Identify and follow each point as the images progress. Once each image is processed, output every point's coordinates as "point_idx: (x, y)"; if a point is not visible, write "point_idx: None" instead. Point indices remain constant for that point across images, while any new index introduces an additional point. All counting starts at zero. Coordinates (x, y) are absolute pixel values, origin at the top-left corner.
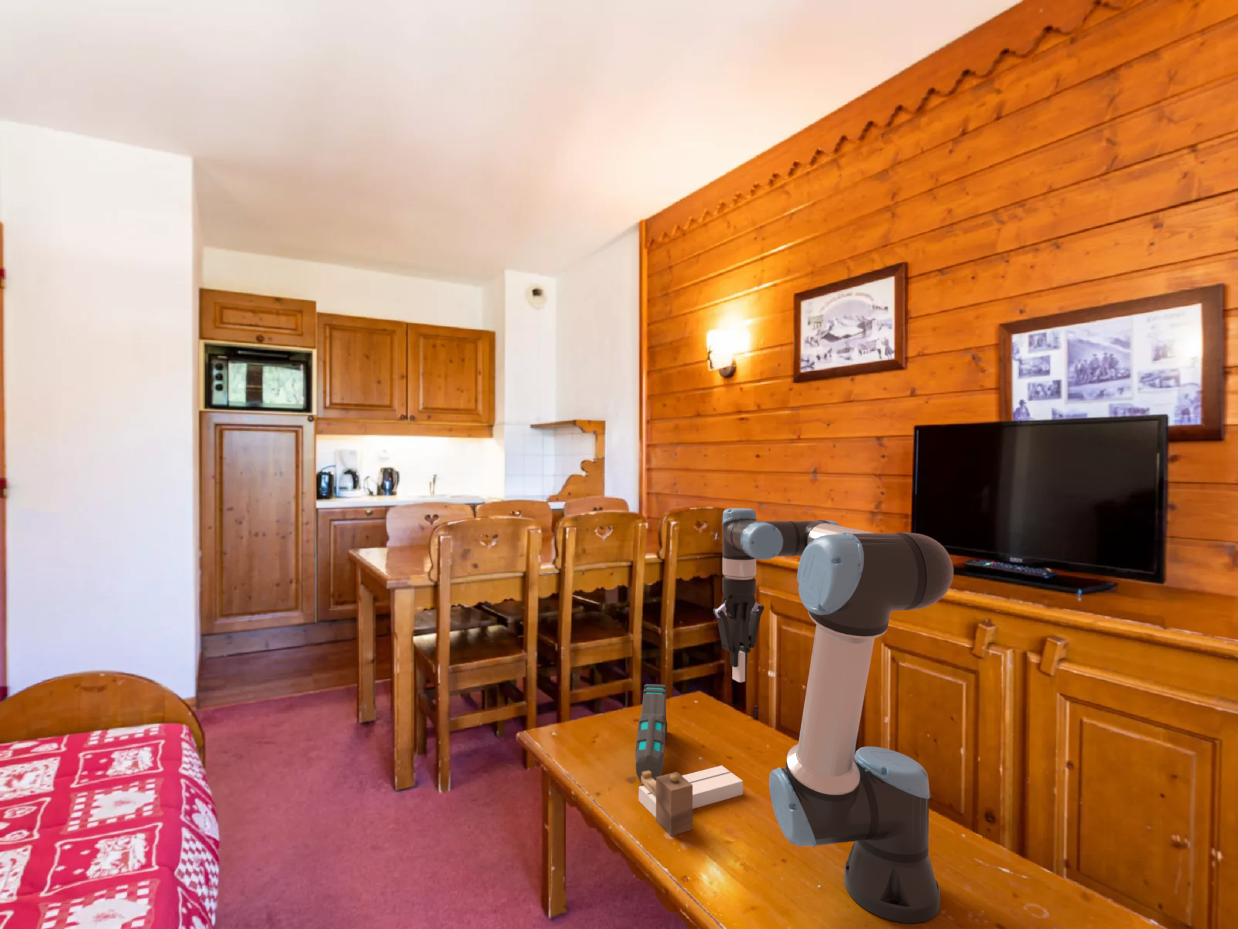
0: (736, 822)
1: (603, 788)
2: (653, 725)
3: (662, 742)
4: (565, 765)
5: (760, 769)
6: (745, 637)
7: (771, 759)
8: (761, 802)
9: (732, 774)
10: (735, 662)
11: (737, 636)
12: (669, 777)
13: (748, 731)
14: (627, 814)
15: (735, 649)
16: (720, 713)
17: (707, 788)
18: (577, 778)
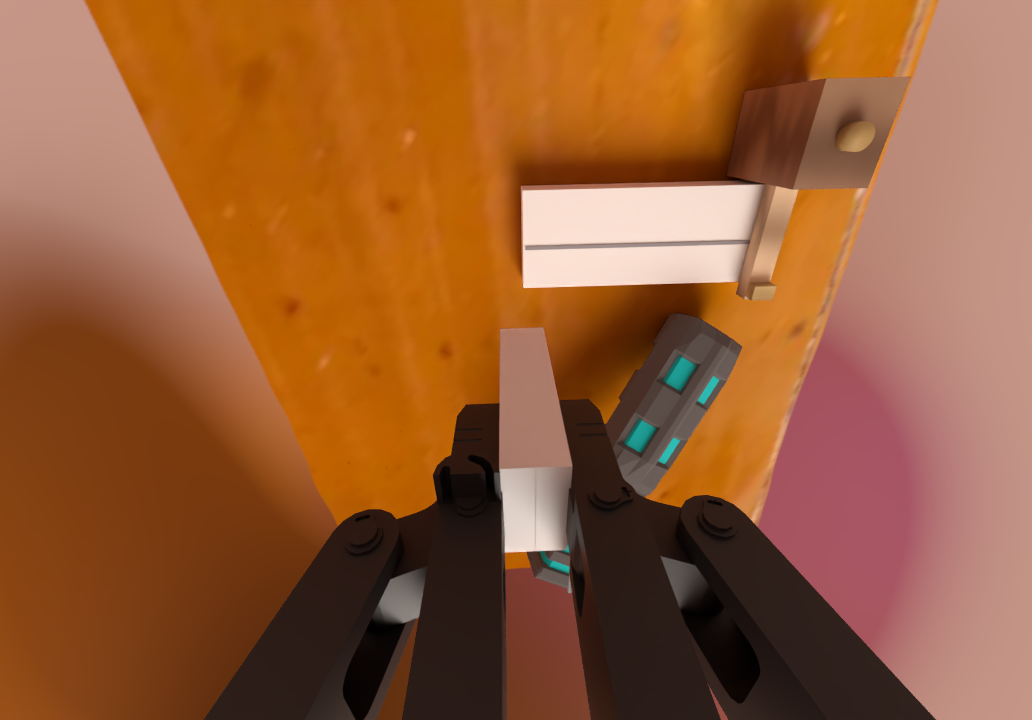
0: (624, 65)
1: (773, 343)
2: (658, 439)
3: (659, 382)
4: (769, 441)
5: (404, 274)
6: (482, 670)
7: (349, 304)
8: (499, 126)
9: (526, 234)
10: (585, 424)
11: (666, 710)
12: (840, 165)
13: (335, 431)
14: (812, 229)
15: (638, 512)
16: (357, 510)
17: (634, 198)
18: (785, 394)
